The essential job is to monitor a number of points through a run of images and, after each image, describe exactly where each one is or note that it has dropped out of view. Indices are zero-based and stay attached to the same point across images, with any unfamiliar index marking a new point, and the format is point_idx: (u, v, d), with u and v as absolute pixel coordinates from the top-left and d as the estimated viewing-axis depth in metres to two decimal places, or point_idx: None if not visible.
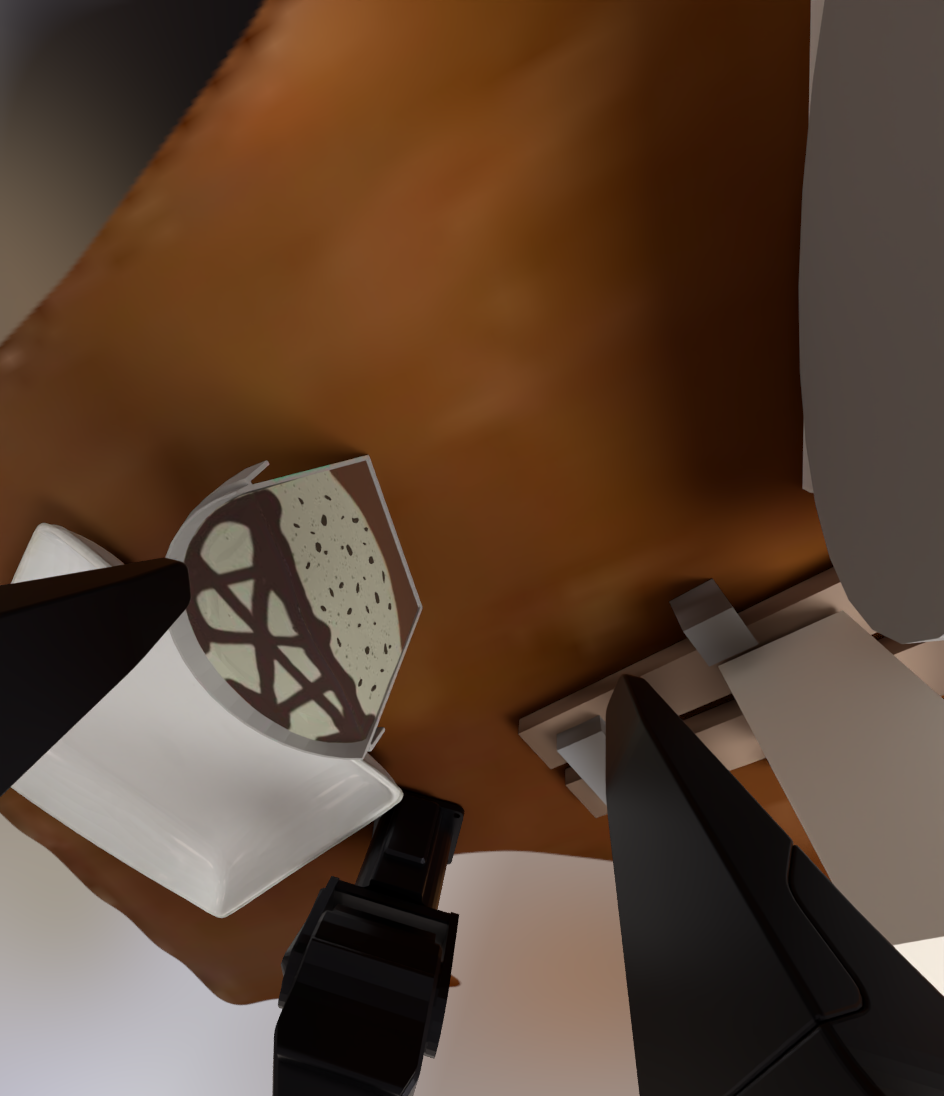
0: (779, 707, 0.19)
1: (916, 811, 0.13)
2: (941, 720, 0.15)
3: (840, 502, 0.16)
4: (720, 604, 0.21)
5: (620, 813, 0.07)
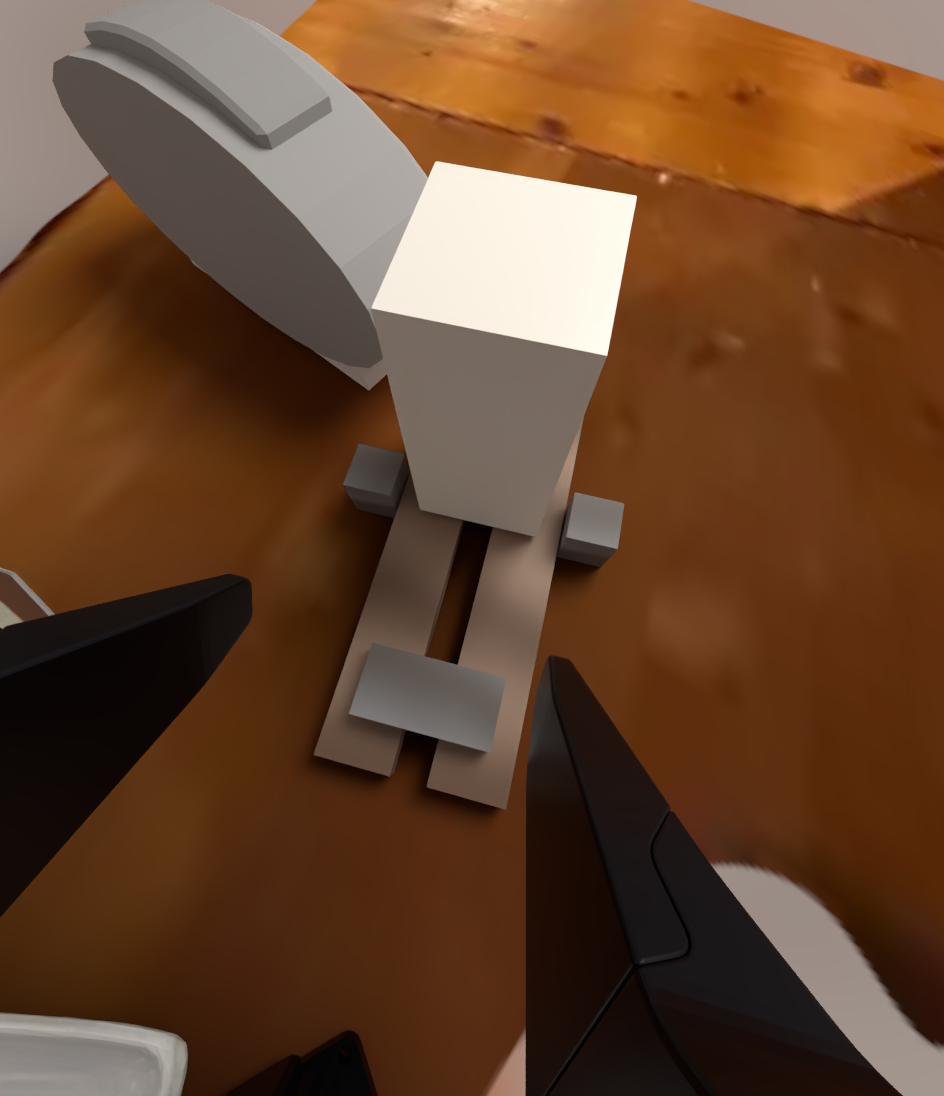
0: None
1: None
2: None
3: (331, 336, 0.23)
4: None
5: (533, 789, 0.07)
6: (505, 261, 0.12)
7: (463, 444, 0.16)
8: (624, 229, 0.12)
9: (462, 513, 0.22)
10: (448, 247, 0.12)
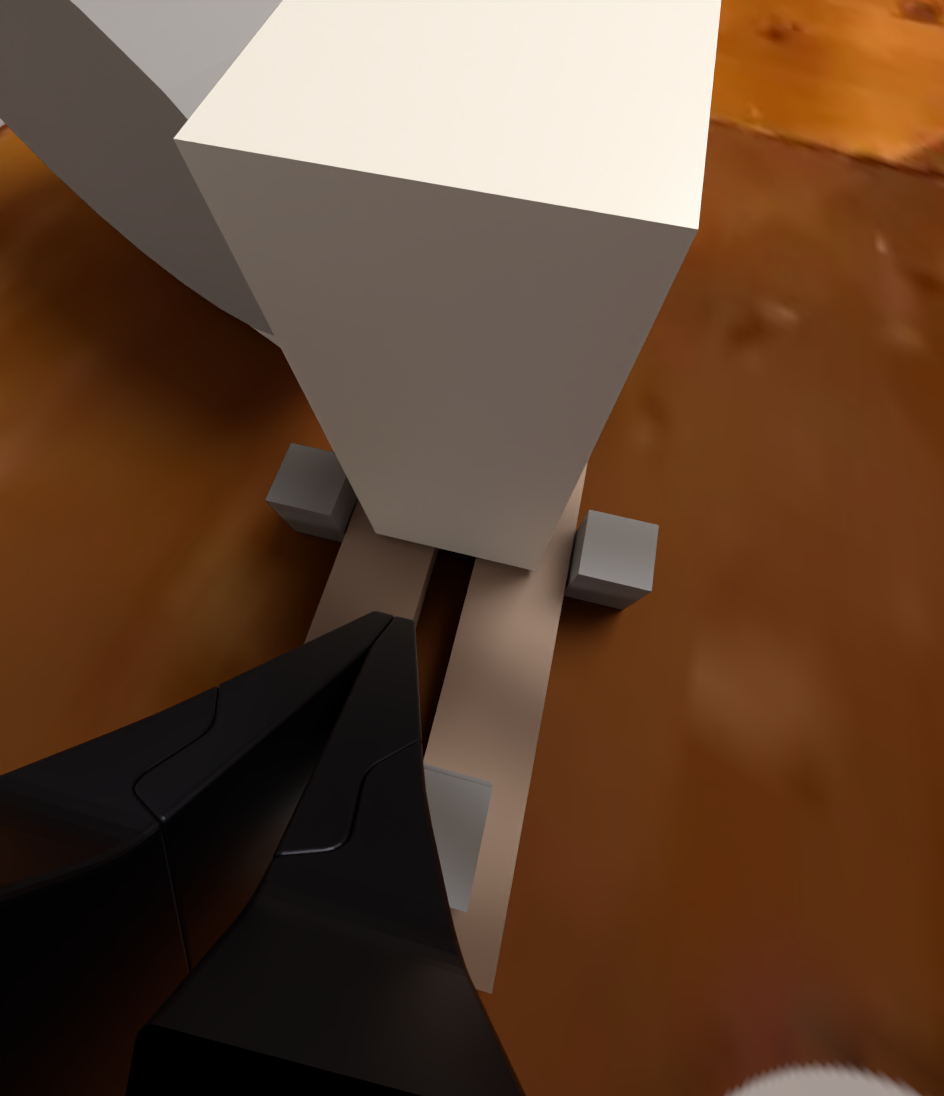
0: None
1: None
2: None
3: None
4: None
5: None
6: (470, 59, 0.06)
7: (418, 440, 0.10)
8: (708, 13, 0.06)
9: (432, 539, 0.15)
10: (355, 38, 0.06)
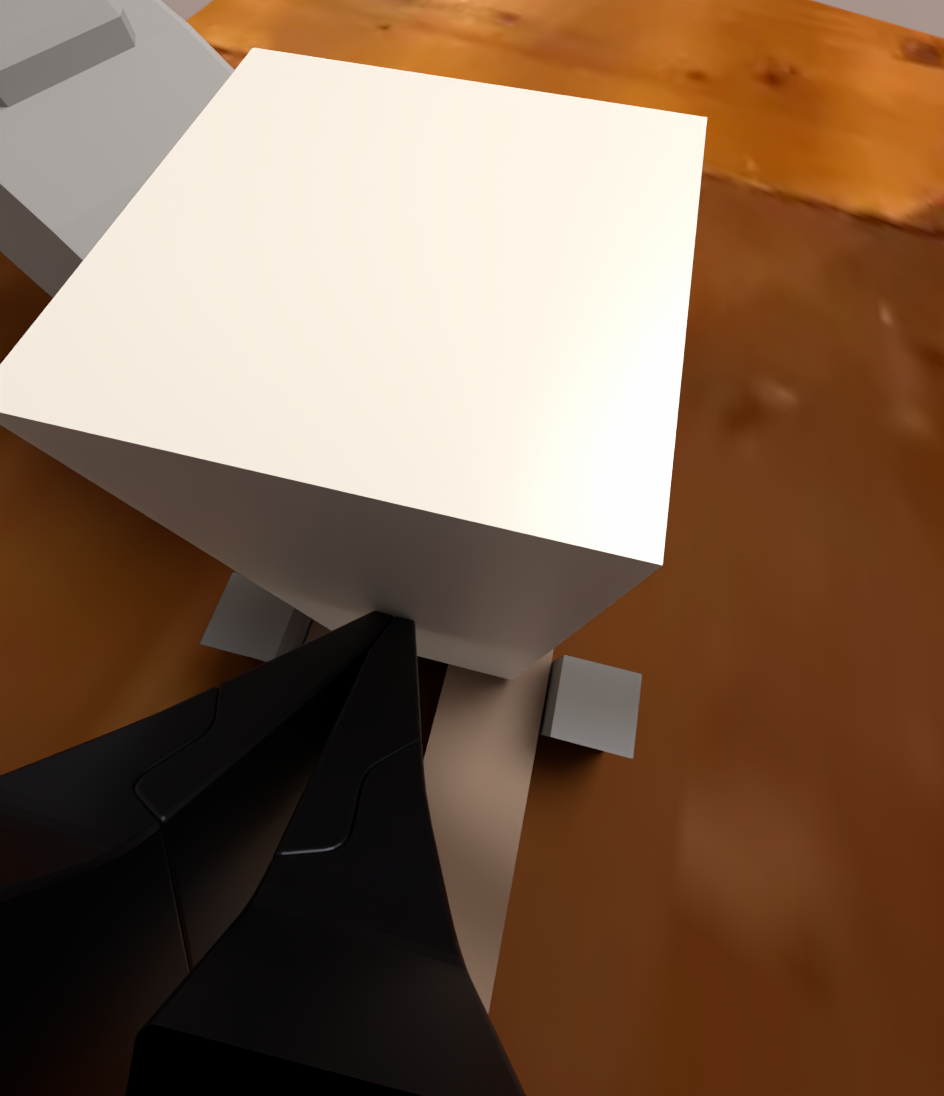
0: None
1: None
2: None
3: None
4: None
5: None
6: (379, 267, 0.04)
7: (361, 606, 0.09)
8: (685, 191, 0.05)
9: None
10: (235, 233, 0.05)
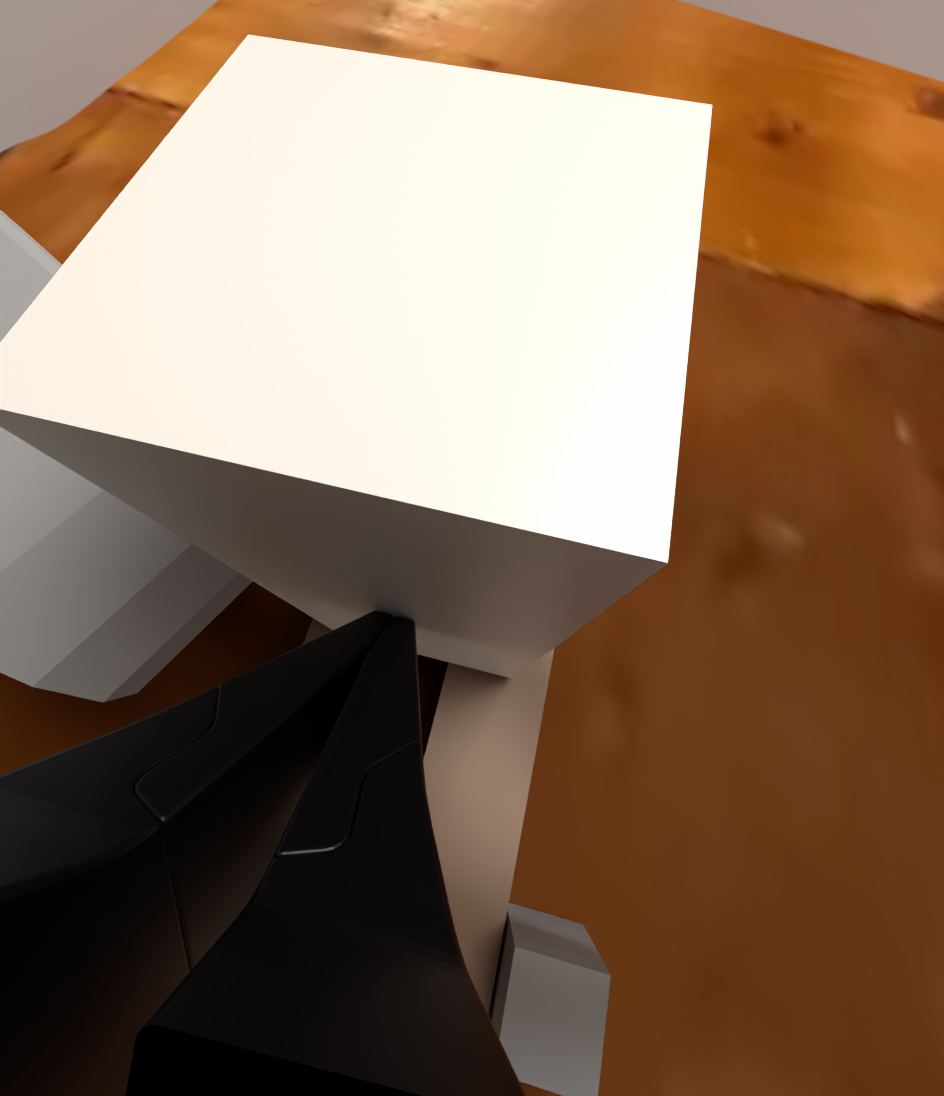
0: None
1: None
2: None
3: None
4: None
5: None
6: (375, 257, 0.04)
7: (361, 605, 0.08)
8: (690, 180, 0.05)
9: None
10: (231, 224, 0.05)
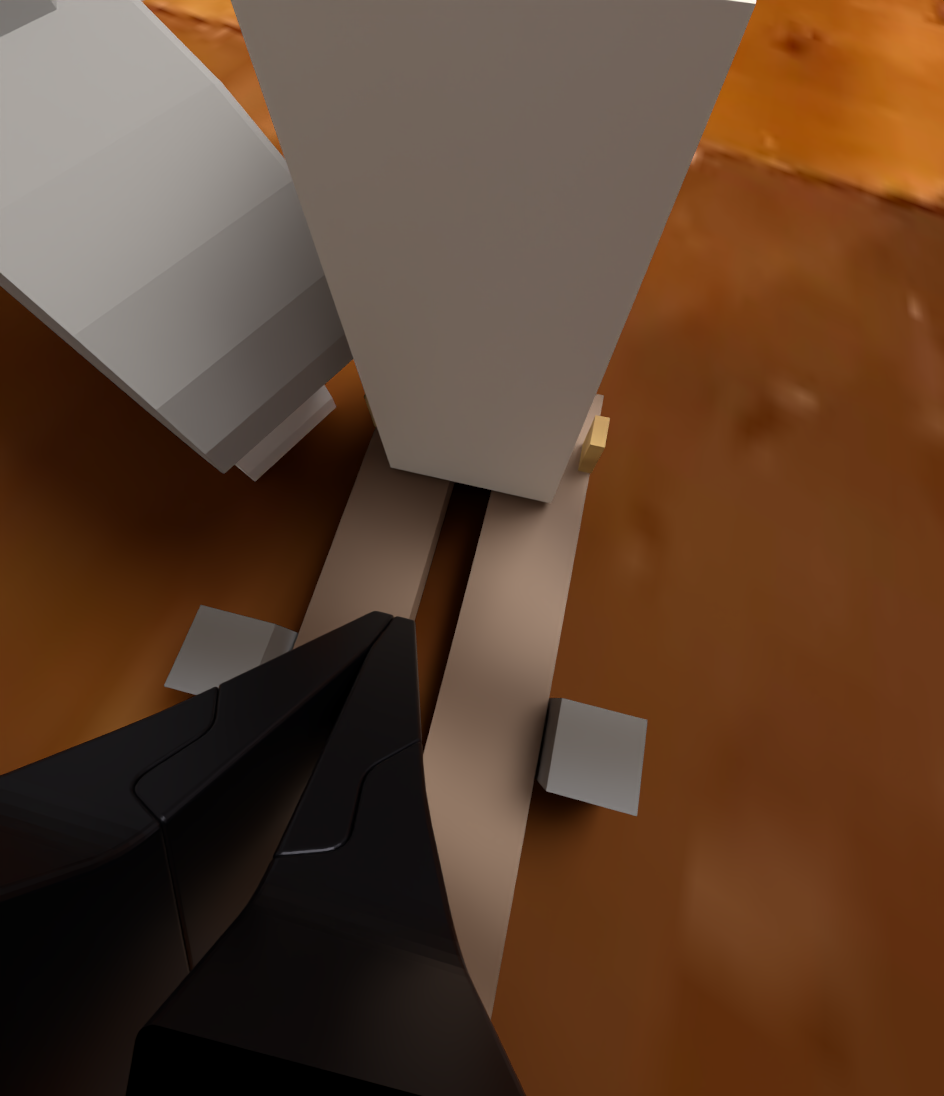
0: None
1: None
2: None
3: (160, 420, 0.14)
4: None
5: None
6: None
7: (441, 335, 0.10)
8: None
9: (448, 470, 0.15)
10: None
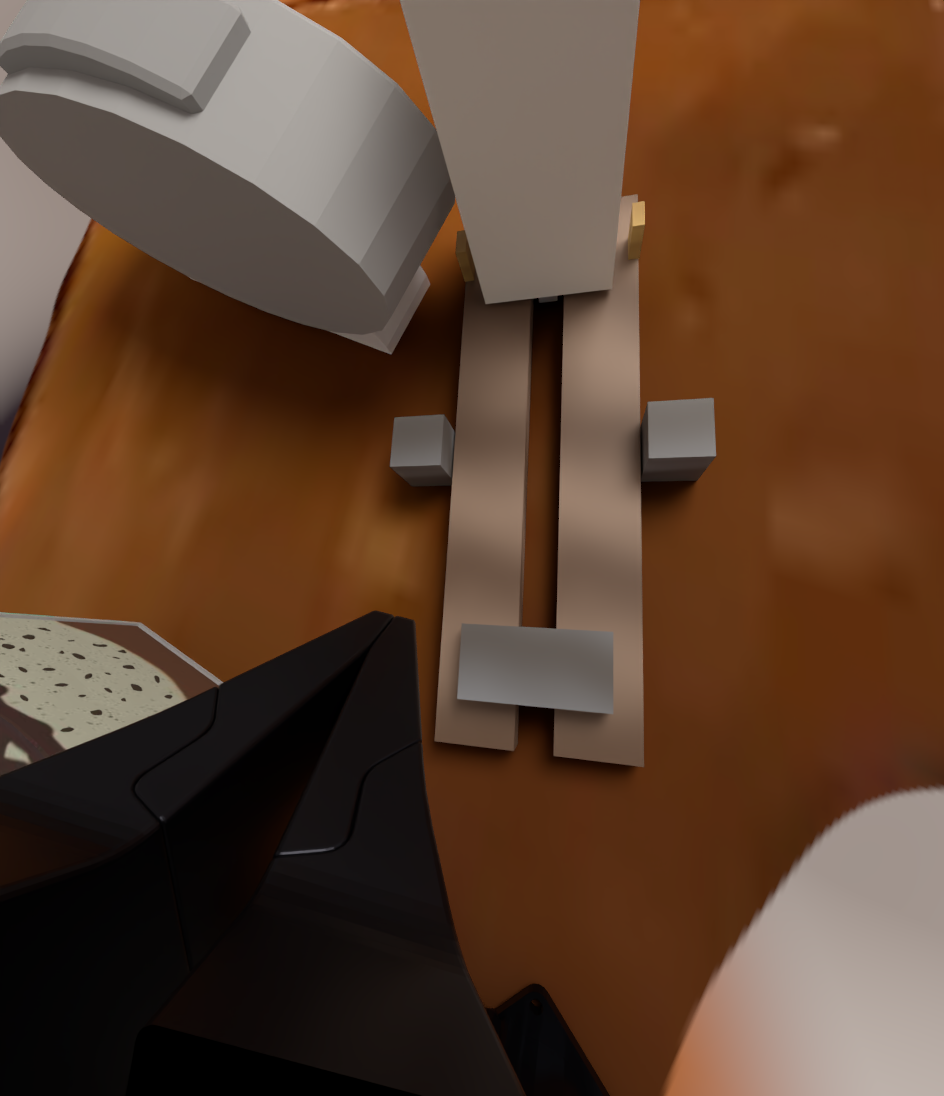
0: None
1: None
2: None
3: (334, 307, 0.21)
4: None
5: None
6: None
7: (513, 151, 0.15)
8: None
9: (529, 286, 0.21)
10: None
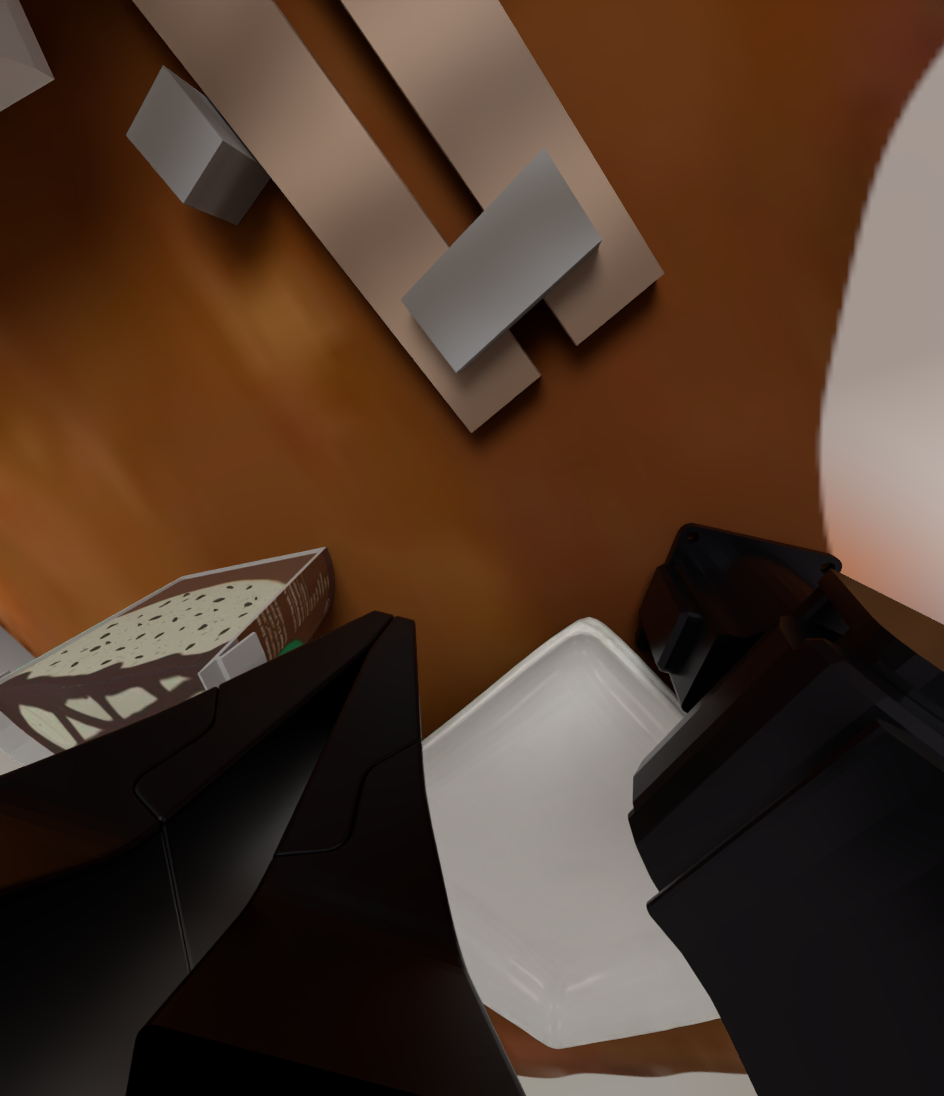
0: None
1: None
2: None
3: None
4: None
5: None
6: None
7: None
8: None
9: None
10: None
